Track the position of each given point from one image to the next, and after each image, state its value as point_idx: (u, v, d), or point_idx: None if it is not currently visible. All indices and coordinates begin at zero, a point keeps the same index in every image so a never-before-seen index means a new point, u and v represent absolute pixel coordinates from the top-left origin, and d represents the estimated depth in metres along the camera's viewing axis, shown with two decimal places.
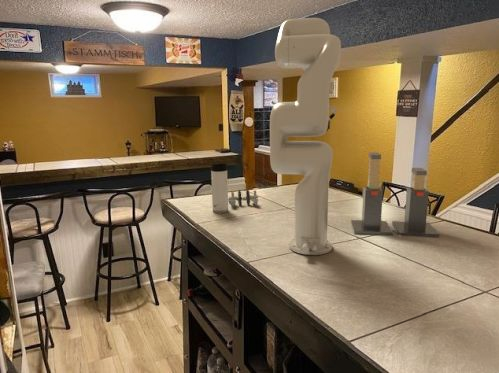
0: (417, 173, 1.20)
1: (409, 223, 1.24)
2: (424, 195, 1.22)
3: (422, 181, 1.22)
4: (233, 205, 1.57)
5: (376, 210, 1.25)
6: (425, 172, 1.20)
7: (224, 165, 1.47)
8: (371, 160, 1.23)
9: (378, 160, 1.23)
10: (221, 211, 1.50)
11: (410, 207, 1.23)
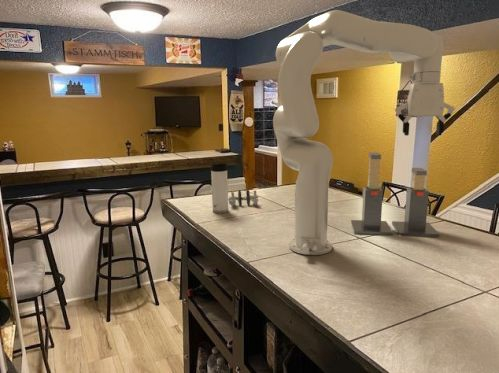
0: (417, 173, 1.20)
1: (409, 223, 1.24)
2: (424, 195, 1.22)
3: (422, 181, 1.22)
4: (233, 205, 1.57)
5: (376, 210, 1.25)
6: (425, 172, 1.20)
7: (224, 165, 1.47)
8: (371, 160, 1.23)
9: (378, 160, 1.23)
10: (221, 211, 1.50)
11: (410, 207, 1.23)
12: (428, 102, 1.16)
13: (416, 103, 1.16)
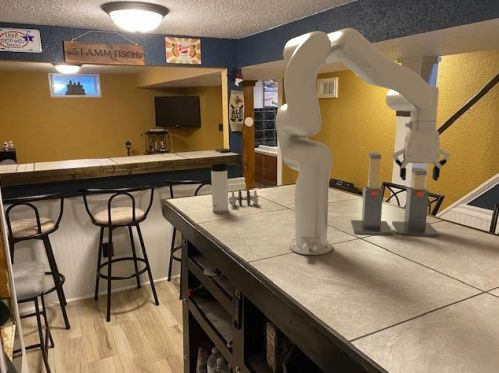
0: (417, 173, 1.20)
1: (409, 223, 1.24)
2: (424, 195, 1.22)
3: (422, 181, 1.22)
4: (233, 205, 1.58)
5: (376, 210, 1.25)
6: (425, 172, 1.20)
7: (224, 165, 1.47)
8: (371, 160, 1.23)
9: (378, 160, 1.23)
10: (221, 211, 1.50)
11: (410, 207, 1.23)
12: (424, 149, 1.19)
13: (413, 150, 1.19)
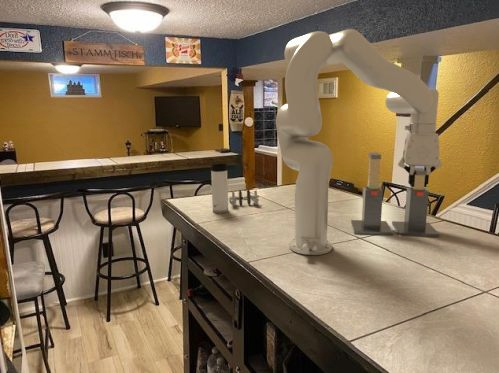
0: (417, 173, 1.20)
1: (409, 223, 1.24)
2: (424, 195, 1.22)
3: (422, 181, 1.22)
4: (234, 205, 1.58)
5: (376, 210, 1.25)
6: (425, 172, 1.20)
7: (224, 165, 1.47)
8: (371, 160, 1.23)
9: (378, 160, 1.23)
10: (221, 211, 1.50)
11: (410, 207, 1.23)
12: (424, 152, 1.19)
13: (412, 153, 1.20)
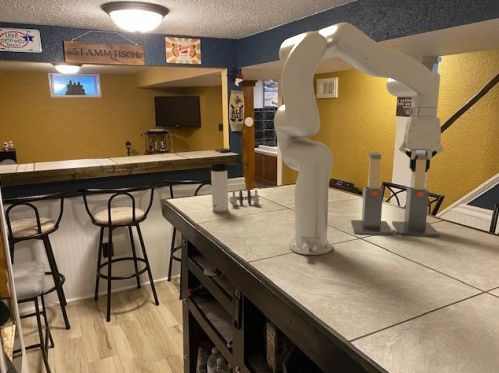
0: (418, 157, 1.19)
1: (409, 223, 1.24)
2: (424, 195, 1.22)
3: (423, 166, 1.21)
4: (234, 204, 1.58)
5: (376, 210, 1.25)
6: (426, 156, 1.19)
7: (224, 165, 1.47)
8: (371, 160, 1.23)
9: (378, 160, 1.23)
10: (221, 211, 1.50)
11: (410, 207, 1.23)
12: (425, 136, 1.18)
13: (413, 137, 1.19)
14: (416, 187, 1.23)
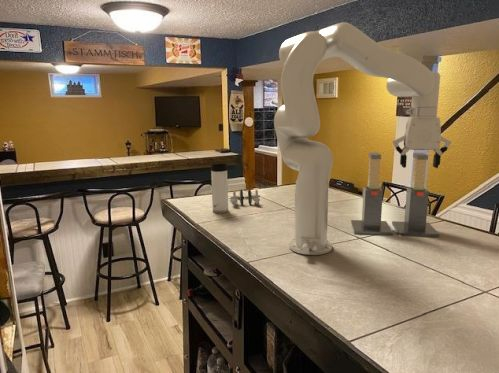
0: (418, 157, 1.19)
1: (409, 223, 1.24)
2: (424, 195, 1.22)
3: (423, 166, 1.21)
4: (235, 204, 1.58)
5: (376, 210, 1.25)
6: (426, 156, 1.19)
7: (224, 165, 1.47)
8: (371, 160, 1.23)
9: (378, 160, 1.23)
10: (221, 211, 1.50)
11: (410, 207, 1.23)
12: (425, 136, 1.18)
13: (413, 137, 1.19)
14: (416, 187, 1.23)
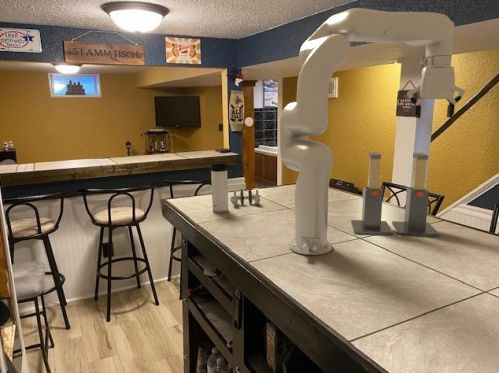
0: (418, 157, 1.19)
1: (409, 223, 1.24)
2: (424, 195, 1.22)
3: (423, 166, 1.21)
4: (235, 204, 1.59)
5: (376, 210, 1.25)
6: (426, 156, 1.19)
7: (224, 165, 1.47)
8: (371, 160, 1.23)
9: (378, 160, 1.23)
10: (221, 211, 1.50)
11: (410, 207, 1.23)
12: (439, 85, 1.20)
13: (428, 86, 1.21)
14: (416, 187, 1.23)
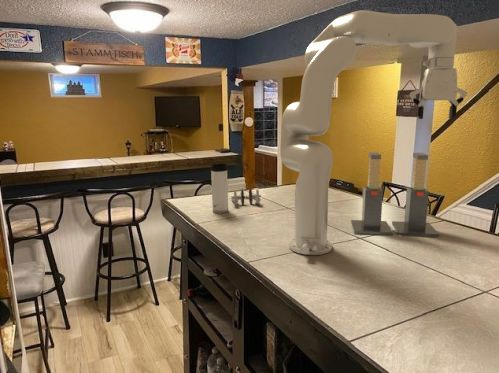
0: (418, 157, 1.19)
1: (409, 223, 1.24)
2: (424, 195, 1.22)
3: (423, 166, 1.21)
4: (236, 204, 1.59)
5: (376, 210, 1.25)
6: (426, 156, 1.19)
7: (224, 165, 1.47)
8: (371, 160, 1.23)
9: (378, 160, 1.23)
10: (221, 211, 1.50)
11: (410, 207, 1.23)
12: (442, 86, 1.21)
13: (430, 87, 1.22)
14: (416, 187, 1.23)
